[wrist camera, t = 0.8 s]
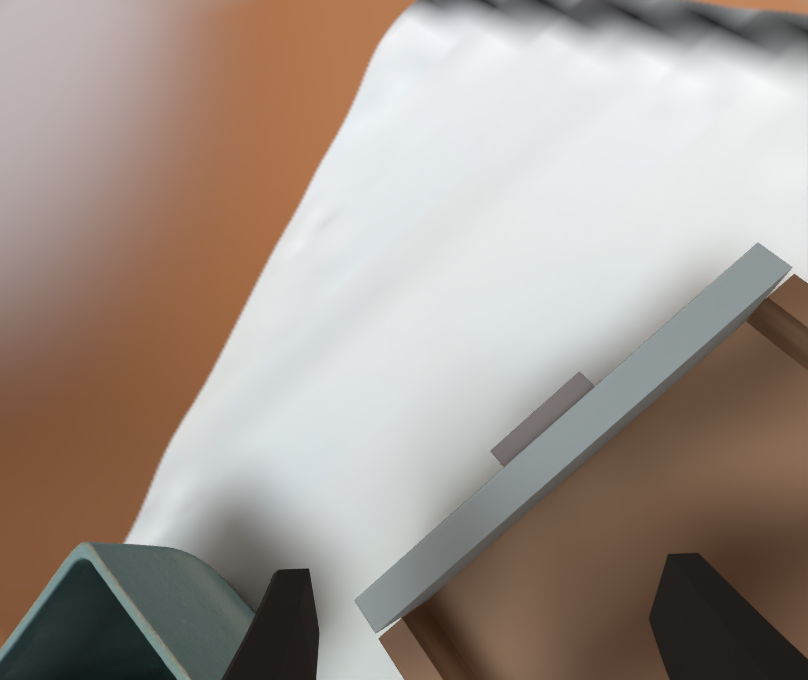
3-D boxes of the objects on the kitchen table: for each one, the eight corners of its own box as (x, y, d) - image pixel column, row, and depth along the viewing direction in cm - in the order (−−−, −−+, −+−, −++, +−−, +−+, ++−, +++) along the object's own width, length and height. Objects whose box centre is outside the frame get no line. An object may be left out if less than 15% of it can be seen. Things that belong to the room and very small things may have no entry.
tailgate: (742, 324, 22) (792, 267, 16) (427, 599, 23) (375, 633, 17) (700, 291, 22) (735, 226, 17) (399, 559, 24) (340, 579, 18)
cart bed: (1161, 625, 17) (1339, 666, 13) (678, 1003, 19) (703, 1148, 14) (734, 294, 24) (764, 252, 20) (398, 591, 25) (359, 610, 21)
